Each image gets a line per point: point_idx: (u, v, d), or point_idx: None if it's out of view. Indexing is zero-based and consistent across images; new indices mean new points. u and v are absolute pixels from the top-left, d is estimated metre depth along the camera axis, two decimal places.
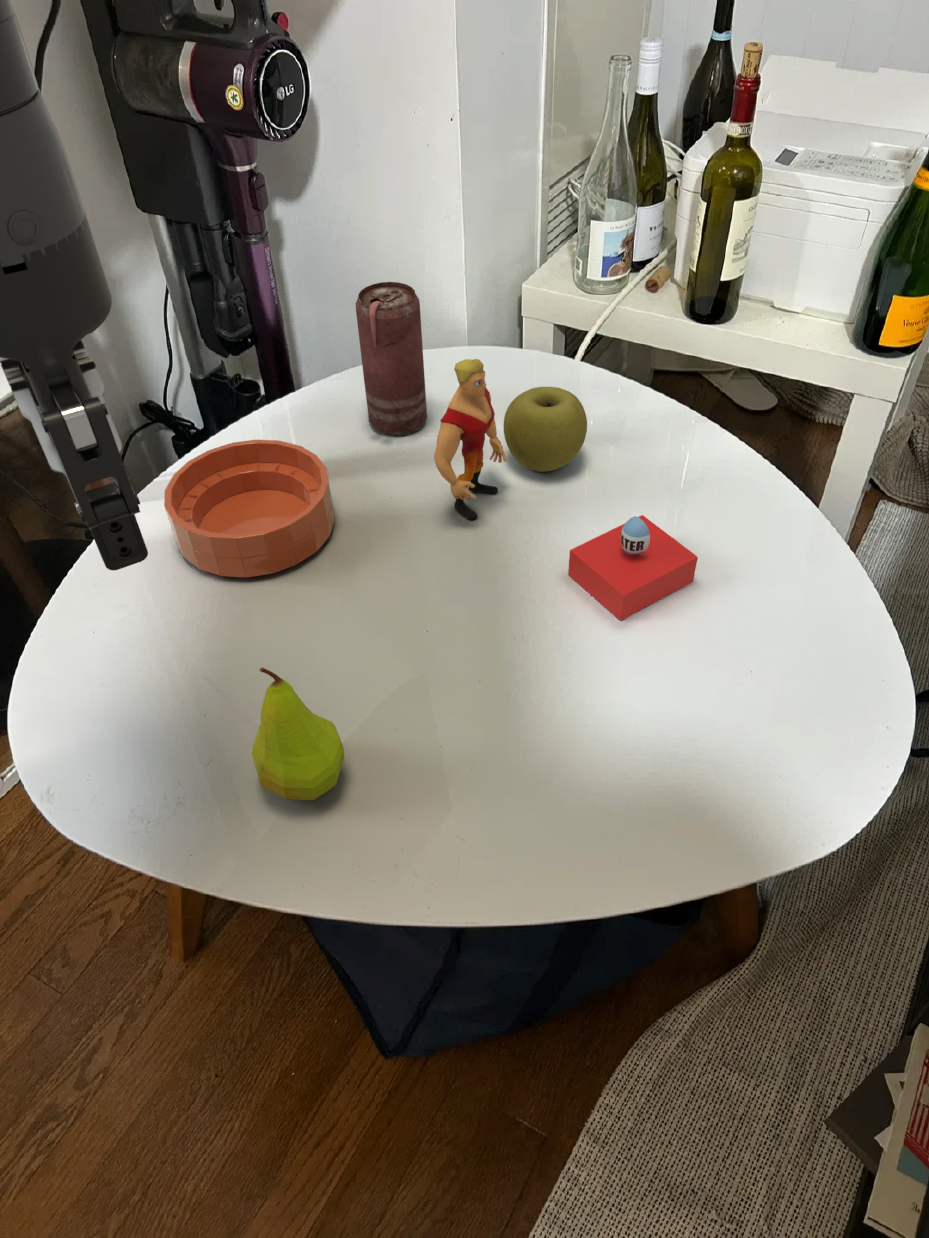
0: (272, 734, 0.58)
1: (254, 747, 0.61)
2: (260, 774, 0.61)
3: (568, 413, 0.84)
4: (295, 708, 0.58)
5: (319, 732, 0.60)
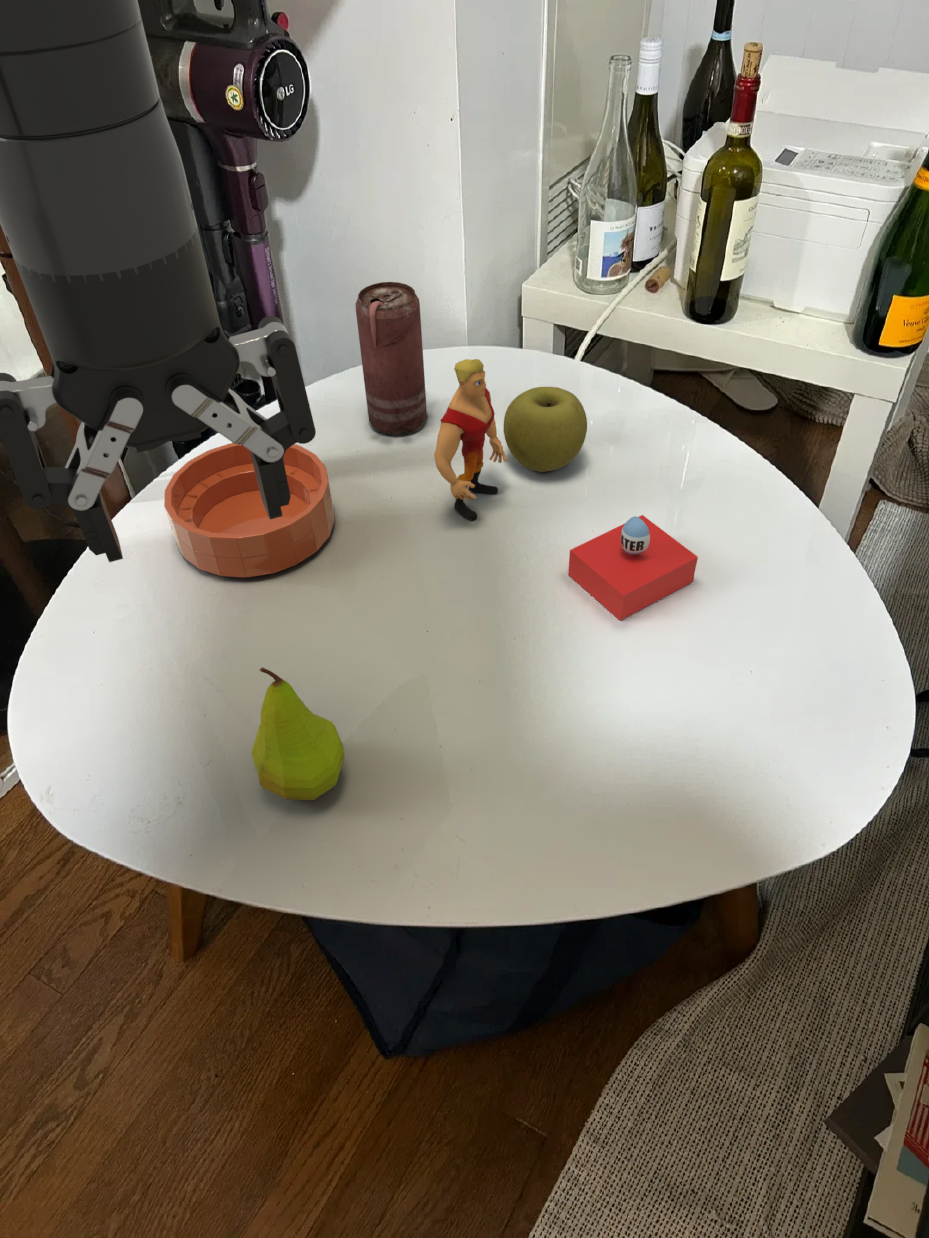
0: (273, 734, 0.58)
1: (254, 747, 0.61)
2: (260, 774, 0.61)
3: (568, 413, 0.84)
4: (295, 708, 0.58)
5: (319, 732, 0.60)
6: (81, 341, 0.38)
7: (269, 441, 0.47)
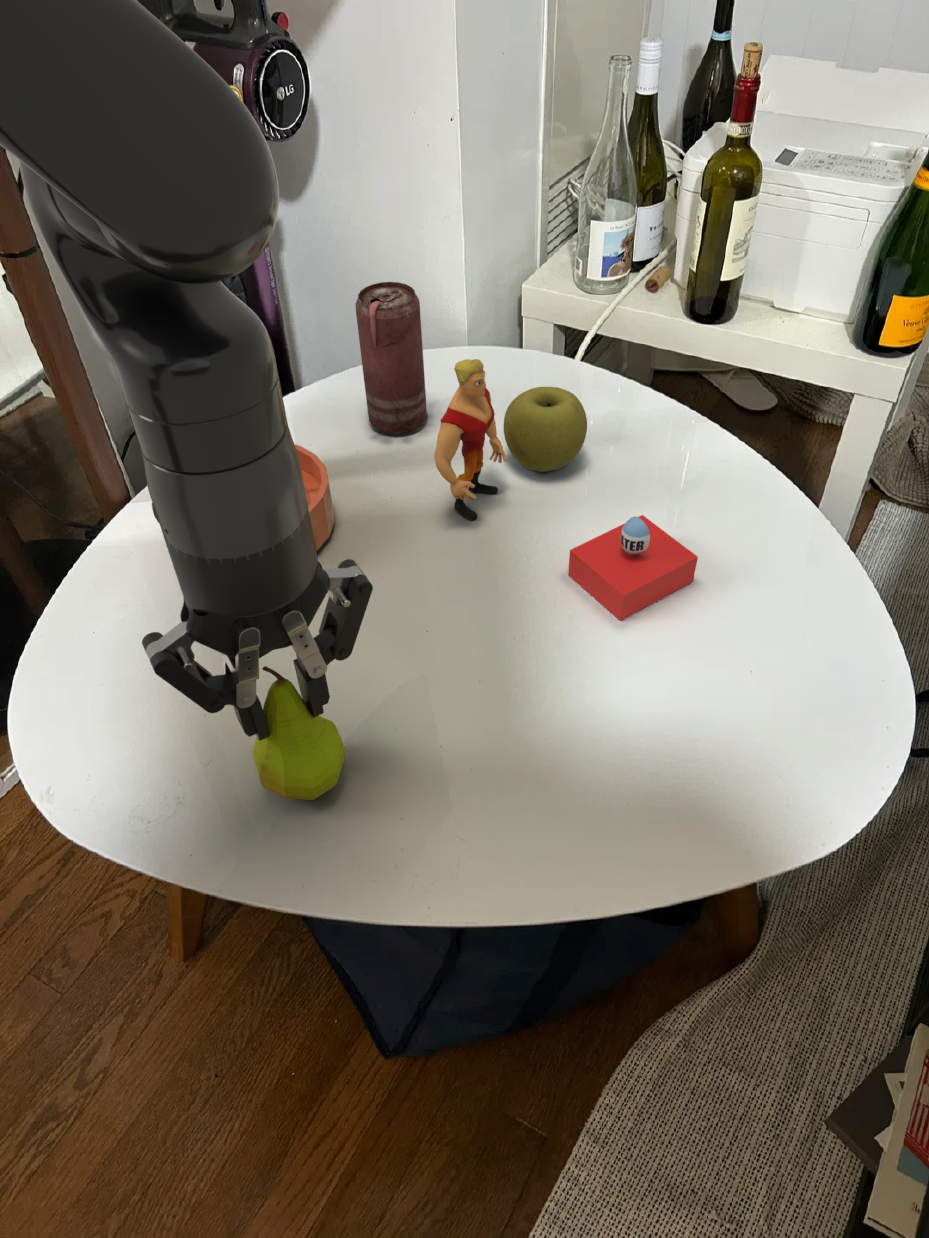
0: (274, 733, 0.58)
1: (254, 746, 0.61)
2: (261, 773, 0.61)
3: (568, 413, 0.84)
4: (297, 707, 0.58)
5: (321, 731, 0.60)
6: (224, 600, 0.47)
7: (321, 662, 0.56)
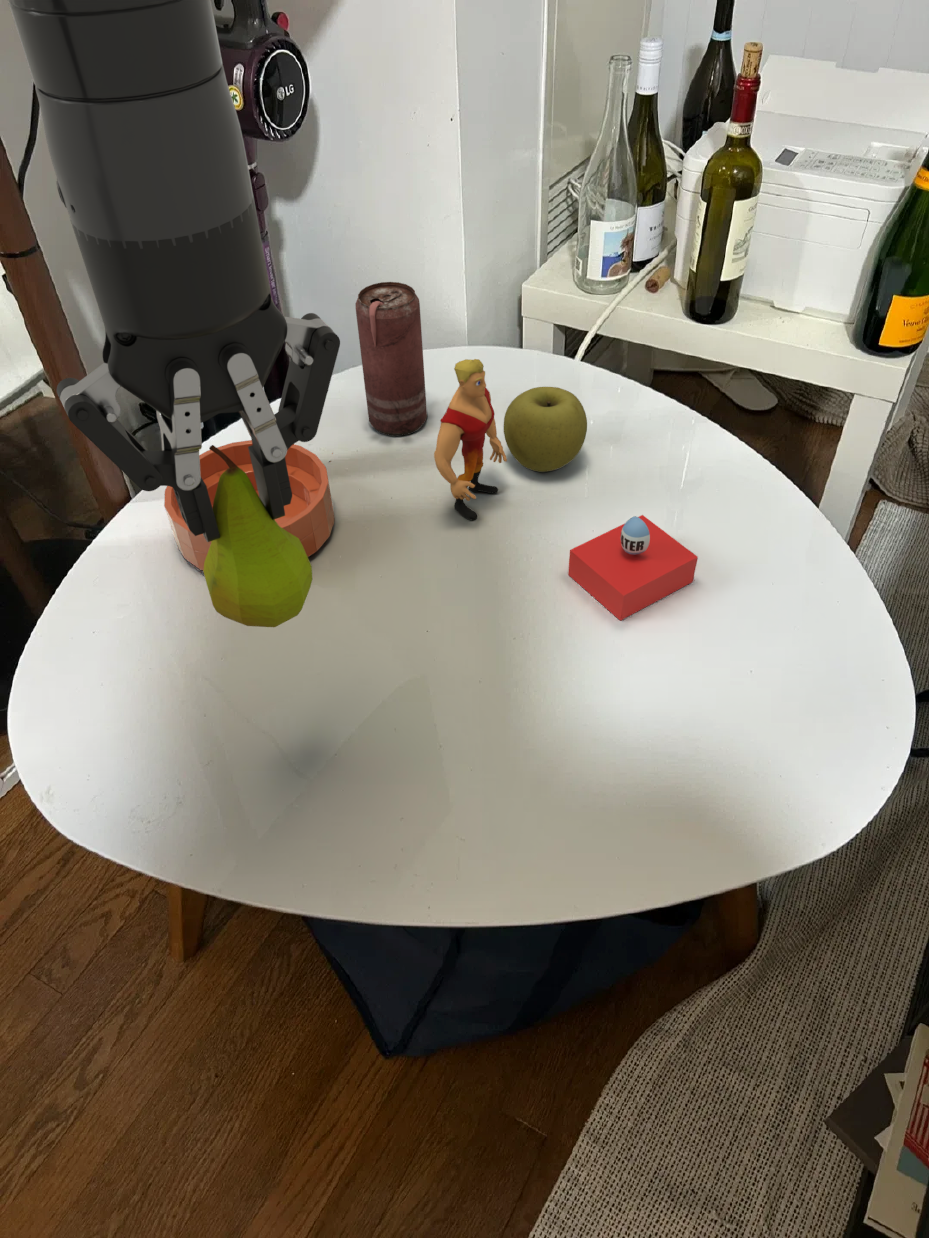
0: (225, 535, 0.49)
1: (205, 561, 0.52)
2: (212, 591, 0.52)
3: (568, 413, 0.84)
4: (253, 502, 0.49)
5: (282, 539, 0.51)
6: (148, 309, 0.38)
7: (279, 440, 0.47)
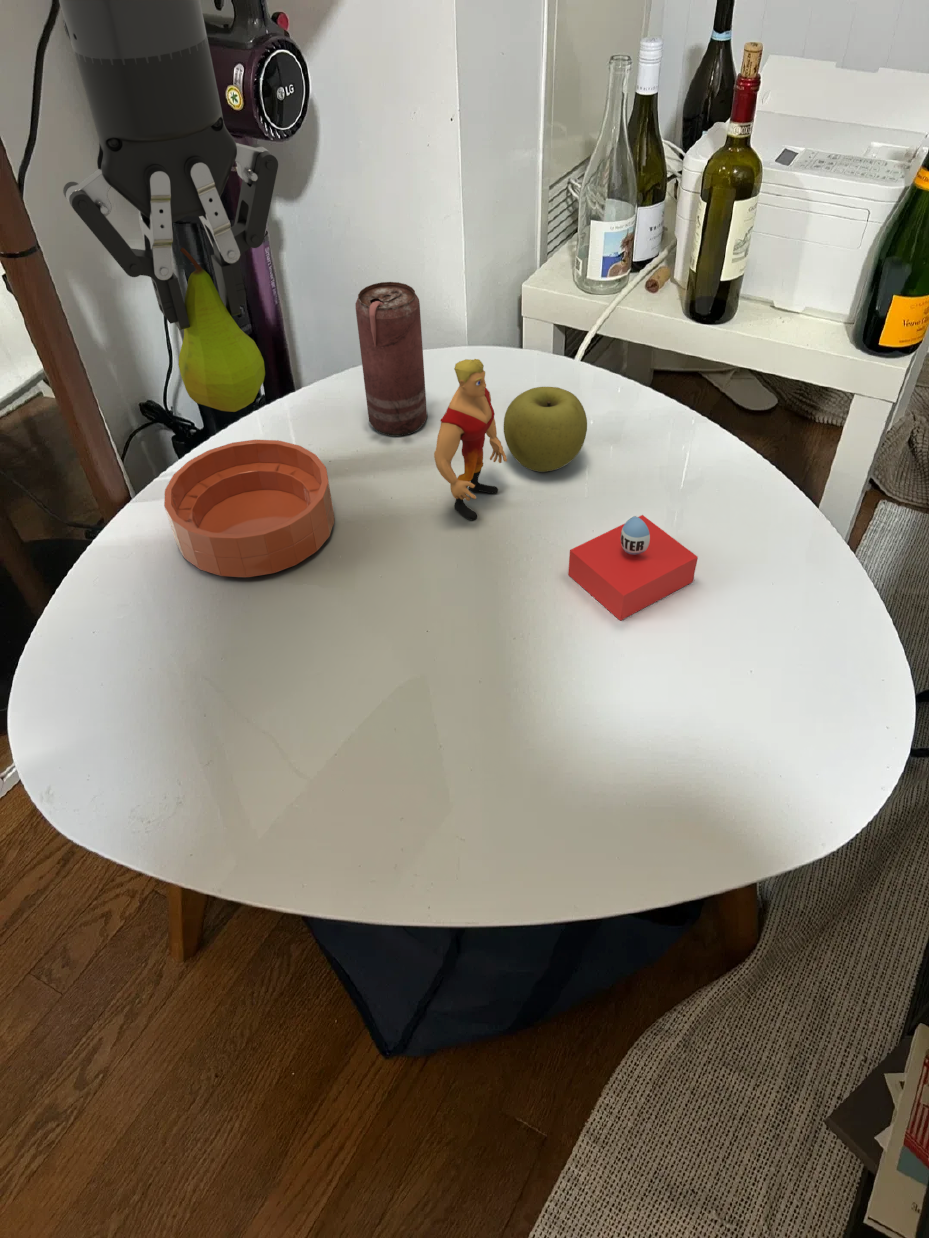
0: (194, 324, 0.64)
1: (180, 354, 0.67)
2: (184, 376, 0.66)
3: (568, 413, 0.84)
4: (215, 298, 0.63)
5: (239, 332, 0.65)
6: (130, 115, 0.52)
7: (233, 244, 0.61)
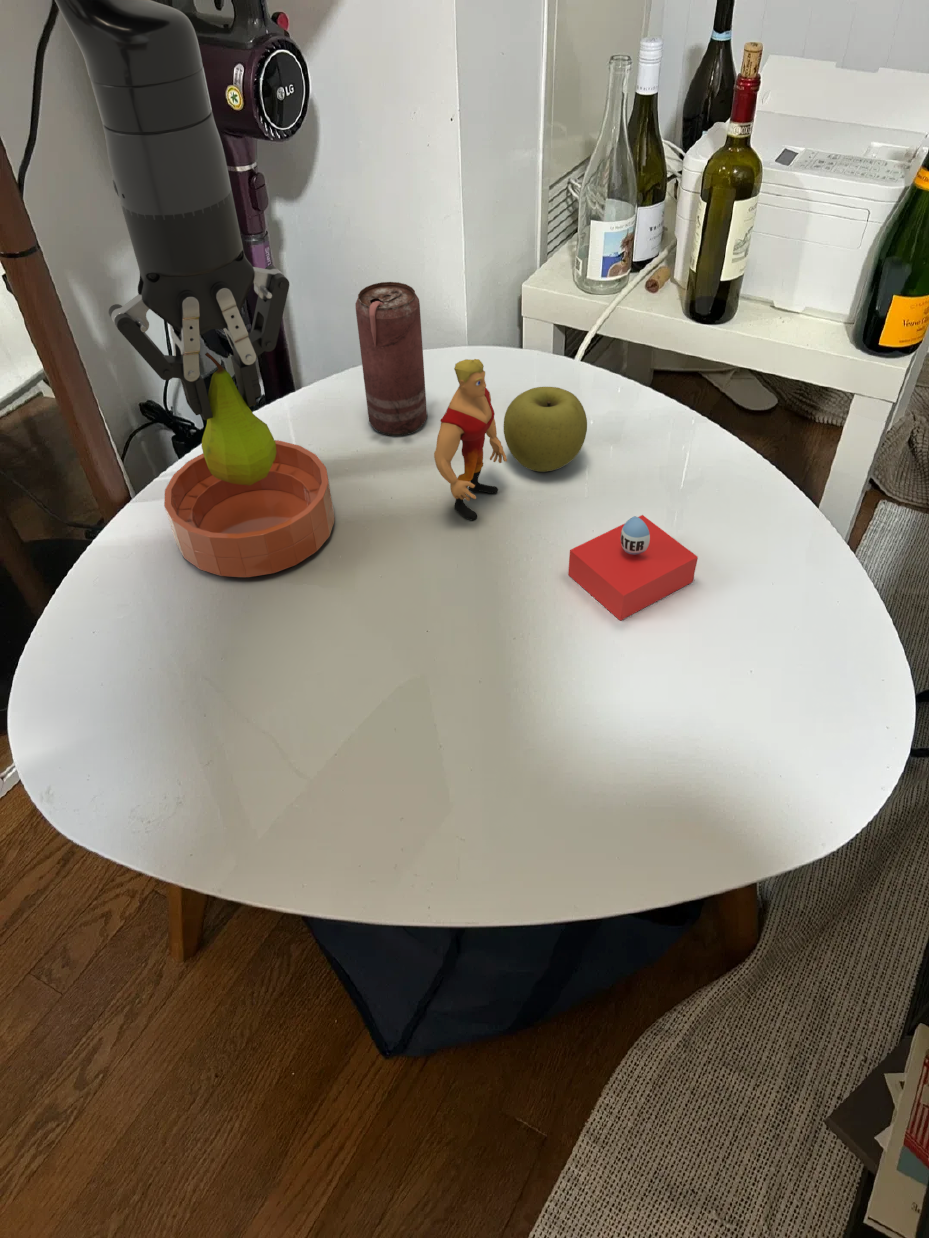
0: (216, 415, 0.74)
1: (203, 438, 0.77)
2: (207, 457, 0.76)
3: (568, 413, 0.84)
4: (234, 393, 0.74)
5: (254, 420, 0.76)
6: (168, 257, 0.63)
7: (250, 350, 0.72)
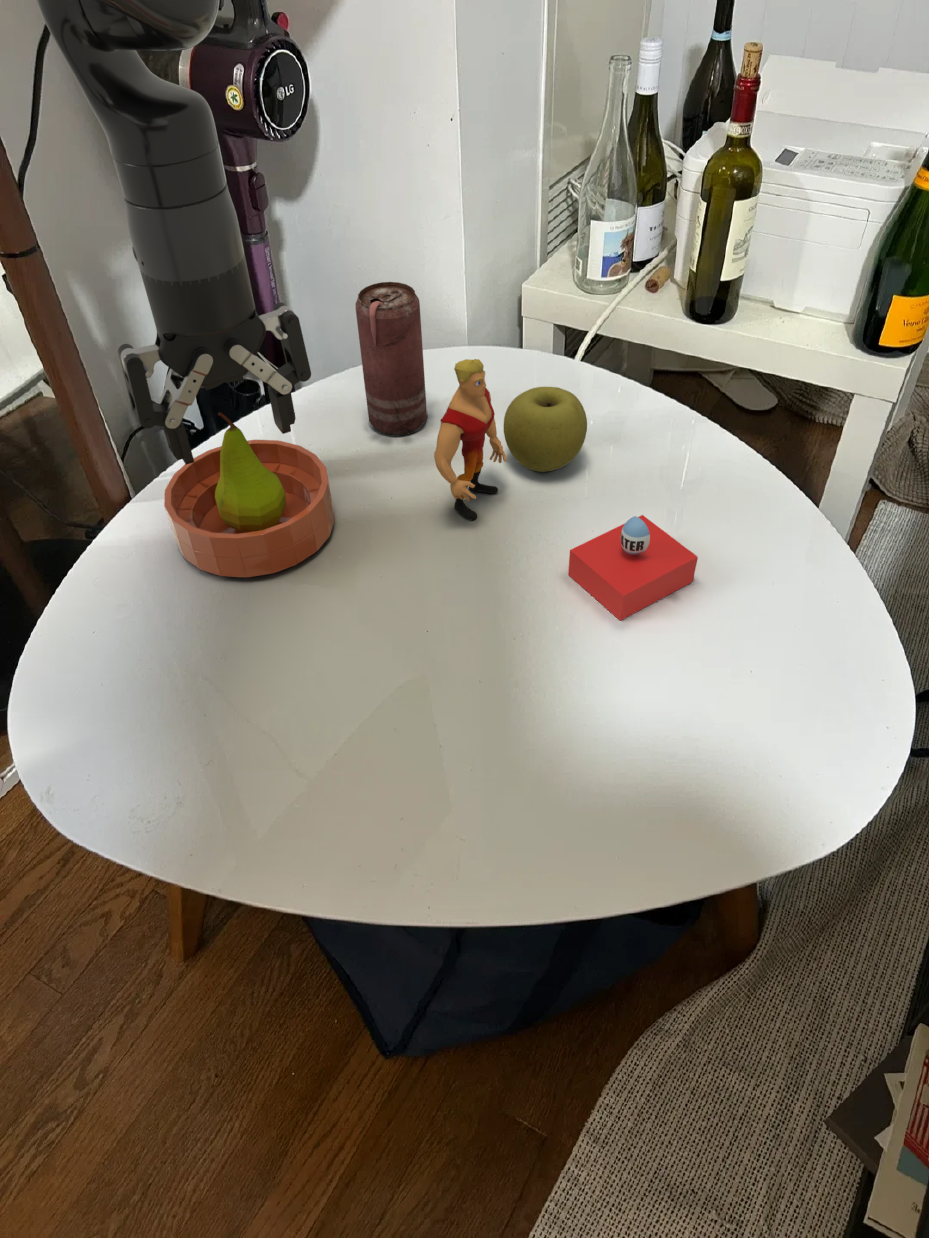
0: (229, 470, 0.78)
1: (216, 489, 0.81)
2: (220, 508, 0.80)
3: (568, 413, 0.84)
4: (245, 449, 0.77)
5: (265, 473, 0.79)
6: (184, 319, 0.66)
7: (283, 380, 0.75)
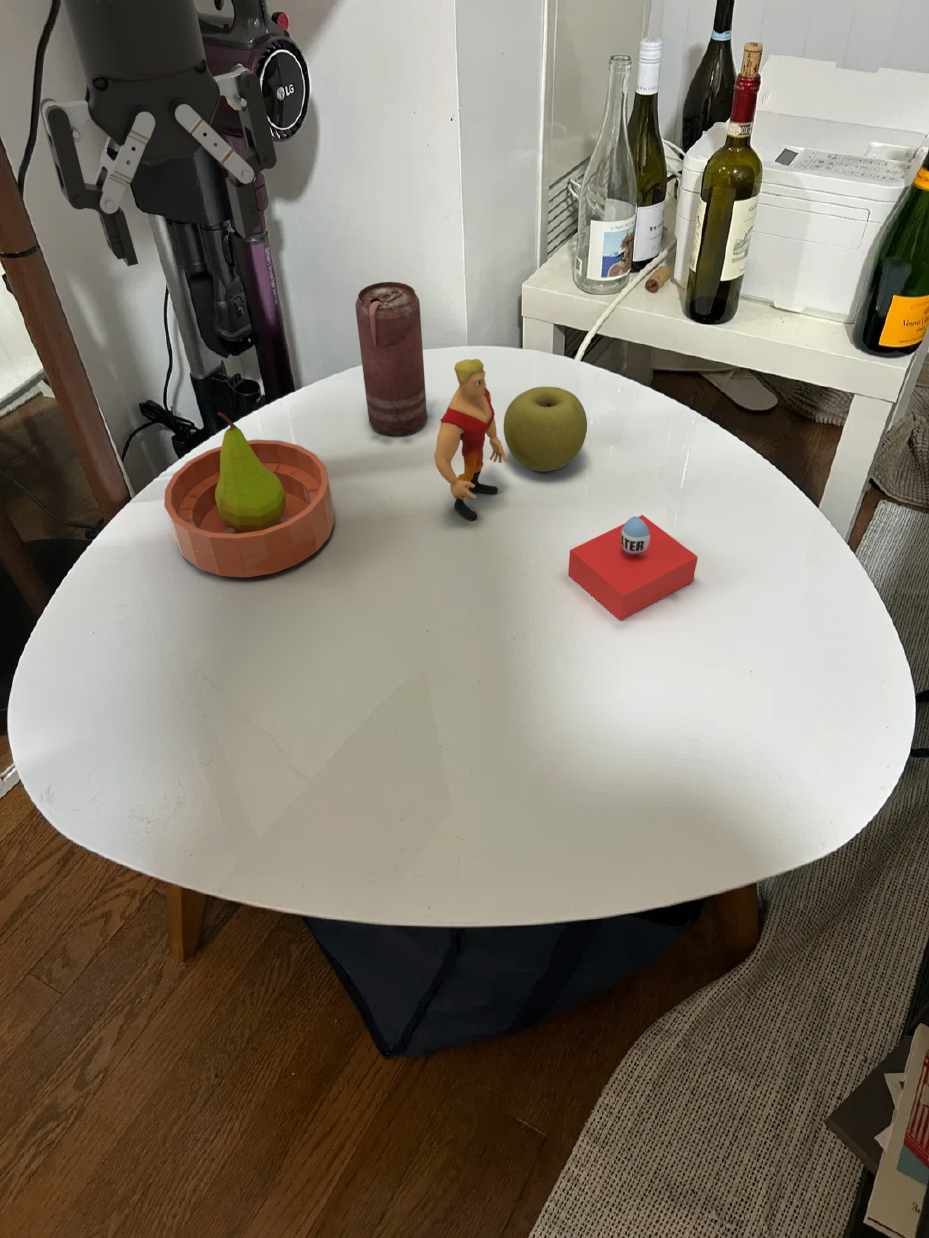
0: (229, 470, 0.78)
1: (216, 489, 0.81)
2: (220, 508, 0.80)
3: (568, 413, 0.84)
4: (245, 449, 0.77)
5: (265, 473, 0.79)
6: (116, 53, 0.54)
7: (243, 164, 0.63)
